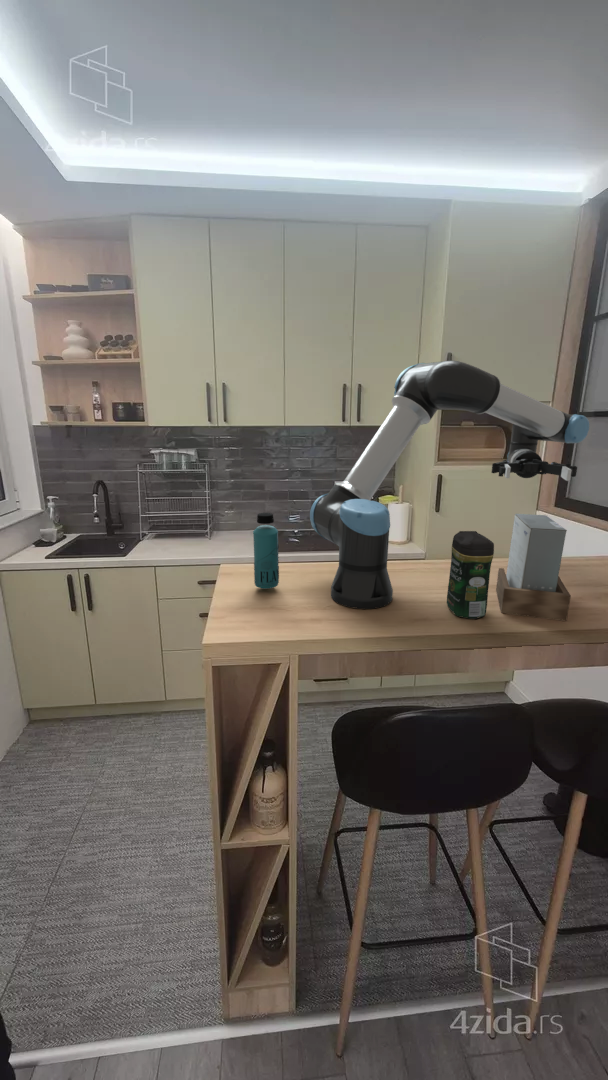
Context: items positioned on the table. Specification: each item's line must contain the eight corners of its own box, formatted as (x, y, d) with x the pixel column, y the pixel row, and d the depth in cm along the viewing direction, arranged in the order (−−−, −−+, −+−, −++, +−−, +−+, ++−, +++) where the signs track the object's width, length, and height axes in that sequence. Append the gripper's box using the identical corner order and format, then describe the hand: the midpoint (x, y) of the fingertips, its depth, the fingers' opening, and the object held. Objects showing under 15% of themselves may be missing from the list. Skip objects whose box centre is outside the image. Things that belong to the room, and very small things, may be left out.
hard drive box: (553, 614, 105) (567, 530, 99) (517, 611, 107) (529, 528, 101) (534, 588, 120) (546, 514, 114) (503, 586, 121) (513, 512, 115)
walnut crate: (501, 612, 106) (504, 588, 104) (495, 589, 119) (498, 568, 117) (566, 620, 102) (570, 595, 100) (553, 596, 115) (557, 573, 113)
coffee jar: (441, 602, 111) (448, 528, 106) (474, 602, 111) (483, 528, 106) (455, 620, 102) (464, 540, 96) (490, 620, 102) (501, 540, 97)
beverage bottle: (257, 595, 114) (255, 517, 108) (251, 586, 120) (249, 511, 115) (282, 592, 116) (281, 515, 111) (275, 583, 122) (274, 509, 117)
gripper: (572, 478, 131) (592, 491, 111) (478, 474, 138) (482, 486, 118) (576, 451, 128) (598, 460, 109) (481, 449, 136) (486, 456, 116)
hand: (538, 474), depth 114 cm, fingers open, 13 cm apart
